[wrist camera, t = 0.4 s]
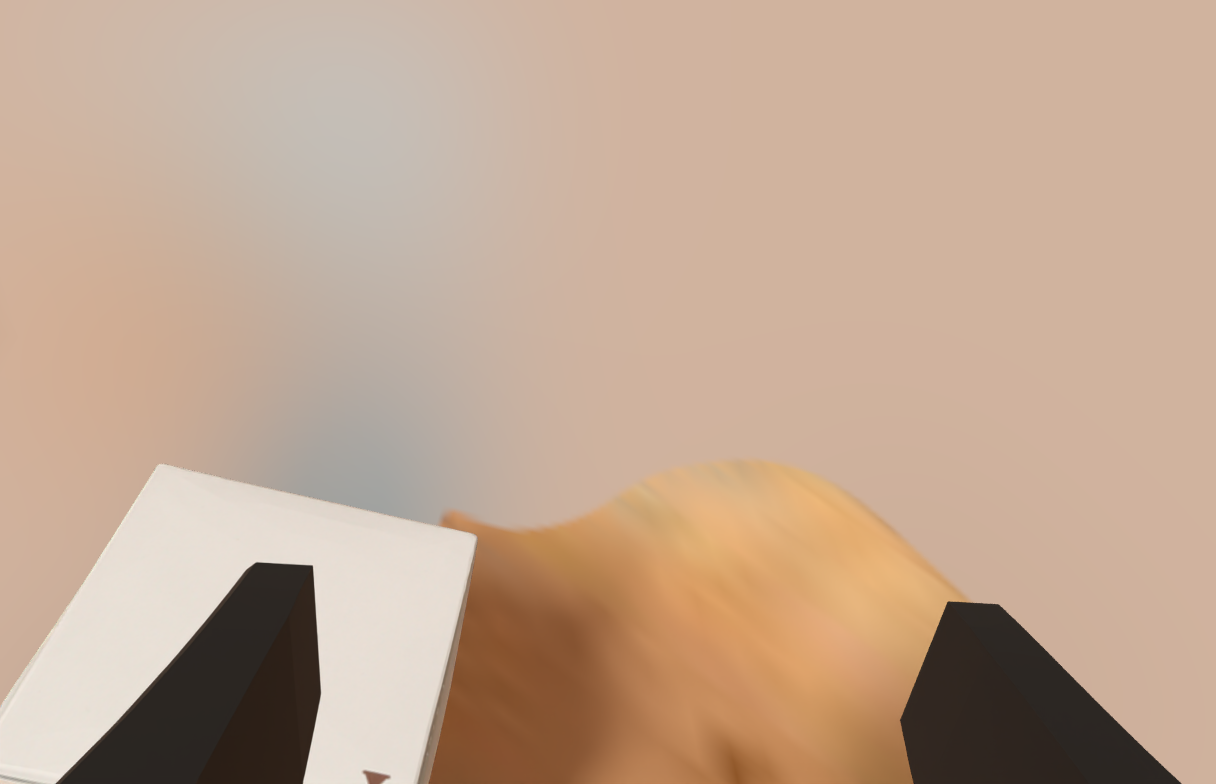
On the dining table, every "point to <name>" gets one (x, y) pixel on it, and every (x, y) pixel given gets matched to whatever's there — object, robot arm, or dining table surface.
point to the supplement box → (200, 579)
